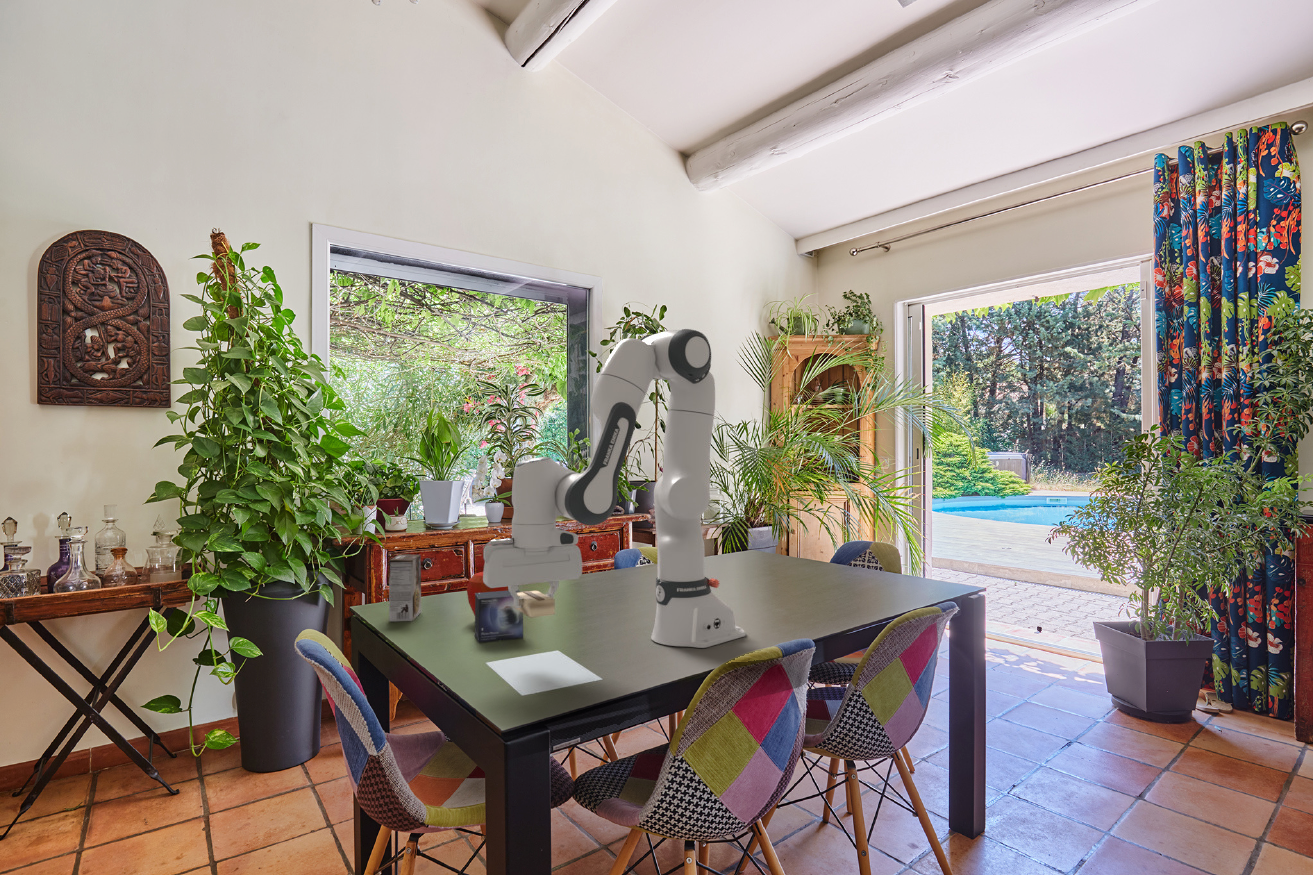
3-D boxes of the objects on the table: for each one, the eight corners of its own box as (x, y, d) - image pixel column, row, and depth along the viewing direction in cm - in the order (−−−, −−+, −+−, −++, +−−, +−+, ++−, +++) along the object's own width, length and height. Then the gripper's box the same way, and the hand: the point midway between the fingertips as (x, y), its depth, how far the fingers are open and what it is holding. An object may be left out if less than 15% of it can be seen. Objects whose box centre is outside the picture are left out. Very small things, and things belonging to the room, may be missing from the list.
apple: (515, 625, 171) (514, 569, 171) (465, 629, 168) (465, 572, 168) (513, 614, 183) (513, 562, 183) (468, 617, 180) (467, 564, 180)
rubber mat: (557, 653, 147) (557, 650, 147) (602, 682, 128) (602, 679, 128) (485, 665, 139) (485, 662, 139) (522, 698, 120) (522, 695, 120)
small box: (478, 644, 155) (478, 598, 155) (474, 636, 161) (473, 592, 161) (524, 638, 159) (524, 593, 159) (518, 631, 165) (518, 588, 165)
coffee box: (397, 613, 185) (397, 554, 185) (421, 612, 185) (421, 553, 186) (388, 621, 176) (387, 559, 176) (413, 621, 176) (413, 559, 177)
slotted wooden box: (554, 614, 134) (554, 598, 134) (530, 617, 132) (530, 601, 132) (536, 604, 143) (536, 589, 143) (513, 607, 140) (513, 592, 140)
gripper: (488, 542, 129) (488, 614, 129) (585, 535, 140) (585, 602, 140) (478, 538, 135) (478, 608, 135) (572, 532, 145) (573, 596, 145)
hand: (533, 605), depth 137 cm, fingers closed on slotted wooden box, 5 cm apart
